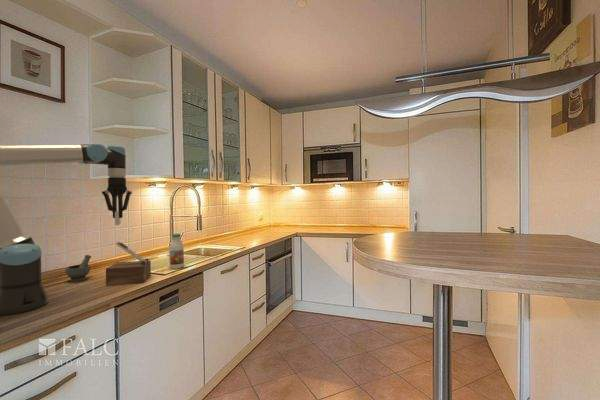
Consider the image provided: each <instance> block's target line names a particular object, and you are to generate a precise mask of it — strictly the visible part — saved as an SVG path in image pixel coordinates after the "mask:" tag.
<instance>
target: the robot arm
mask: <svg viewBox="0 0 600 400" xmlns="http://www.w3.org/2000/svg"><path fill="white" fill-rule="evenodd" d="M126 157H127V155H126V148H125V147H124V146H122V145H113V144H112V145H108V146H107V147H106V146H105V145H103V143H98V142H97V143H96V142H93V143H90V144H89V143H88V144H87V143H86V144H85V143H84V144H80V143H79V144H73V143H72V144H0V167H2V166H22V165H24V166H25V165H45V164H68V163H69V164H70V163H78V164H84V165H105V166H106V165H107V176H108V178H107V188H106V189H105V190H103V191H101V194H102V195H103V196H104V200H105V203H106V207H107V210H108V211H111V212H112V218H113V219H114V225H115V226H119V225H121V220H122V219H123V218H124V217H123V215H124V214H123V212H124V211H126V210H128V205H129V201H130V198H131V195H132V194H133V191H131V190H129V189H128V187H127V179H126V175H127V171H126V164H127V163H126ZM109 194H110V195H111V199H110V195H109ZM124 194H125V197H124ZM123 198H124V201H123ZM117 207H118V208H117ZM42 253H43V252H42V250H41V246H40V245H38V244H36V243H35V241H34V239H33V238H32V236H31V235H28V234H25V233H24V231H23V230H22V227H21V226H20V224H19V221H18V220H17V218H16V216H15V215H14V213H13V211H12V210H11V207H10V206H9V204H8V202H7V200H6V198H5V197H4V195H3V193H2V191H1V190H0V316H4V315H5V316H6V315H8V316H9V315H15V314H21V313H25V312H28V311H29V312H30V311H33V310H36V309H38V308H41V307H43V306H45V305H46V304H48V302H49V301H48V299H49V298H48V295H47V292H46V290H45V288H44V286H43V284H42Z"/></svg>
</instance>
